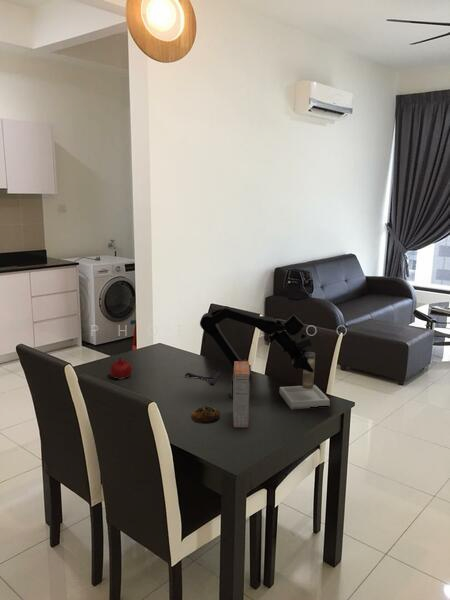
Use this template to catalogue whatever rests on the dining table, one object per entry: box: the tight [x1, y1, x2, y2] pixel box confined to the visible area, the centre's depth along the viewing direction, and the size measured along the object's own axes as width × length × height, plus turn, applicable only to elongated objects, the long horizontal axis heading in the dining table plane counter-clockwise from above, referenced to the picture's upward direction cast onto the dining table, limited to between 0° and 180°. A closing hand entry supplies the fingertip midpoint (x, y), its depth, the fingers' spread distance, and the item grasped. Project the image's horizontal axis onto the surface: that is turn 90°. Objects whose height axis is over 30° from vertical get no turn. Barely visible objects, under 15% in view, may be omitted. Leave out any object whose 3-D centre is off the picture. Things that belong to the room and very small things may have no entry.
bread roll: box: [190, 405, 221, 424], centre depth 191 cm, size 11×11×5 cm
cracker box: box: [232, 360, 251, 429], centre depth 187 cm, size 14×6×21 cm, turn 178°
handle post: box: [301, 351, 316, 389], centre depth 206 cm, size 4×4×14 cm
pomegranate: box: [109, 357, 133, 378], centre depth 230 cm, size 10×10×9 cm
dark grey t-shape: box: [184, 371, 221, 386], centre depth 231 cm, size 14×15×3 cm
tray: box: [278, 384, 331, 410], centre depth 209 cm, size 16×16×3 cm
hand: (312, 369), depth 206 cm, fingers closed on handle post, 4 cm apart
